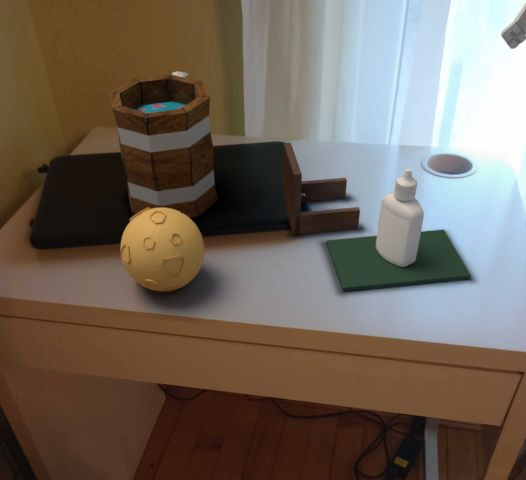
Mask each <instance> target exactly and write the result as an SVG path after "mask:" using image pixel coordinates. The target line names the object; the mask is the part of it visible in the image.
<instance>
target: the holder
mask: <svg viewBox="0 0 526 480" xmlns="http://www.w3.org/2000/svg"><path fill="white" fill-rule="evenodd" d="M282 168H283V169H282V170H283V172H282V173H283V176H282V177H283V181H282V183H283V186H282V188H283V192H282V193H284V196H283V195H282V198H283V199H282V200H283V205H284V208H285V212H286V215H287V218H288V222H289V226H290V229H291V233H292V235H293V236H296V235H306V234H318V233H328V232H340V231H351V230H358V229H359V226H360V217H361V216H360V215H361V209H360V207H359V206H356V207H355V206H354V207H344V208H331V209H321V210H320V209H319V210H310V211H302V203H313V202H323V201H333V200H345V199H346V197H347V185H348V180H347V179H348V178H347V177H337V178H324V179H313V180H303V179H302V178H303V174H302V171H301V168H300V165H299V162H298V160H297V156H296V153H295V150H294V148H293V144H292V142H289V141H288V142H283V167H282ZM301 193H305V195H306V196H302V197H301ZM284 197H285V199H284ZM285 200H286V203H287V206H286V203H285ZM287 207H288V210H289V213H290V217H291V220H290V217H289V213H288V210H287Z"/></svg>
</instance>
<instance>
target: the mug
mask: <svg viewBox="0 0 526 480" xmlns="http://www.w3.org/2000/svg"><path fill="white" fill-rule="evenodd" d="M108 96H109V100H110V105H111V109H112V113H113V116H114V120H115V123H116V127H117V134H118V146H119V151H120V156H121V161H122V166H123V169H124V172H125V175H126V179H127V180H126V181H127V194H128V200H129V205H130V210H131V213H132V214H134V215H135V214H137V213H139V212H140V211H142V210H143V209H146V208H148V207H149V208H150V209H152V208H161V207H162V208H170V209H174V210H177V211H179V212H183V214H185V215H186V216H188V217H189V218H190V219H191V218H192V219H194V218H198V217H199V216H201V215H202V214H203V213H204V212H205V211H207V209H209V208H210V207H211V206H212V205H214V204H215V203H216V202H217V201H218V200H219V198H218V194H217V189H216V183H215V181H216V180H215V170H214V169H215V168H214V167H215V164H214V163H215V149H214V144H213V138H212V132H211V121H210V108H211V107H210V105H211V104H210V103H211V96H210V94H209V92H208V90H207V88H206V86H205V83H204V82H203V81H202V80H197V79H192V78H190V76H189V74H188V73H187V72H183V71H178V70H177V71H173V72H172V73H171V74H165V75H156V76H149V77H139V78H134V79H131V80H130V81H128V82H126V83H124V84H122V85H121V86H119V87H116V88H115V89H114V90H112V91H110V92H108ZM215 194H216V195H215ZM210 198H211V199H210ZM209 199H210V200H209ZM203 204H204V205H203ZM199 207H200V208H199ZM198 208H199V209H198ZM197 209H198V210H197ZM194 210H196V211H194ZM187 211H190V212H187Z"/></svg>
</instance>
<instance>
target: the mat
mask: <svg viewBox="0 0 526 480" xmlns="http://www.w3.org/2000/svg"><path fill="white" fill-rule="evenodd" d="M376 239H377V235H371V236H360V237H349V238H347V237H346V238H337V239H327V240H326V241H325V244H326V247H327V250H328V254H329V256H330V259H331V262H332V264H333V268H334V270H335V273H336V276H337V278H338V283H339V285H340V287H341V291H342V292H351V291H352V292H353V291H361V290H371V289H380V288H381V289H382V288H392V287H402V286H411V285H412V286H413V285H421V284H430V283H431V284H433V283H442V282H452V281H461V280H470V279H471V277H472V275H471V273H470V271H469V270H468V268H467V266H466V264H465V263H464V261H463V259H462V258H461V256H460V254H459V253H458V251H457V249H456V248H455V246H454V244H453V243H452V241H451V239H450V237H449V236H448V234H447V232H446V231H445V229H437V230H436V229H433V230H423V231H421V234H420V240H419V245H418V251H417V256H416V261H415V262H414V263H412V264H410V265H408V266H406V267H399V266H397V265H394V264H392V263H390V262H388V261H387V260H385V259H384V258H383V257H382V256H381V255H380V254H379V253H378V251H377V249H376Z"/></svg>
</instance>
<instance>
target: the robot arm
mask: <svg viewBox="0 0 526 480" xmlns="http://www.w3.org/2000/svg"><path fill="white" fill-rule="evenodd" d="M500 33H501V34H500V36H501V38H502V39H503V41H504V42H505V43H506V45H507V46H508V48H510V49H512V50H514V49H516V48H518V47H519V46H520V44H523V43H524V41H526V2H525V3H524V5H523V6H522V8H521V9H520V11H519V12H518V14H517V15H516V17H514V20H513V21H512V22H510V23H509V25H507V26H506V27H505V28H504V29H503V30H502V31H501V32H500Z"/></svg>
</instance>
